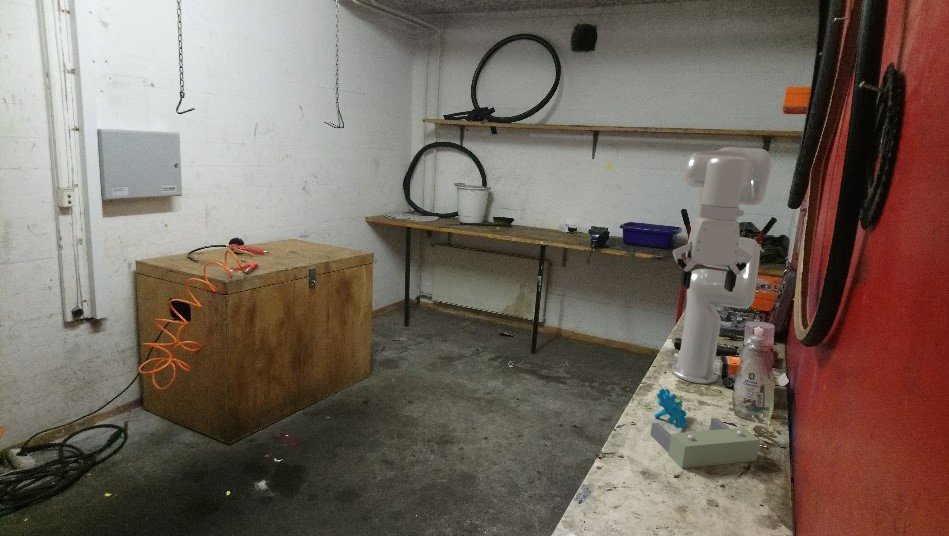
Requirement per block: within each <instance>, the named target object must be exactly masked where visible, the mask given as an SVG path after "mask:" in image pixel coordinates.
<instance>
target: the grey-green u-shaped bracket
mask: <svg viewBox="0 0 949 536" xmlns="http://www.w3.org/2000/svg"><path fill="white" fill-rule="evenodd" d="M709 424H710V425H709V429H708V430H700V431H688V432H676V433H670V432H669V431H668V430H667V429H666V428H665V427H664V426H663V425H661V424H660V423H659V422H652V423H651V429H650V436H651V437H652V438H653V439H654V440H655V441H656V442H657V443H658V444H659V445H660V446H661V447H662V448H663V449H664V450H665V451H666V452H667V455H668V456H669V457H670V458H671V460H673V461H674V462H675V463H676V464H677V465H678V466H679V467H680V468H681V469H686V468H687V469H688V468H696V467H706V466H707V467H708V466H717V465H726V464H735V463H746V462H747V463H748V462H756V461H757V458H758V453H759V447H760V441H761V439H760V438H758V437H757V436H756V435H754V434H753V433H751V431H749V430H748V429H747V428H745V427H737V428H736V427H735V428H731V427H729V426H728V425H726V424H725V422H722V421H721V420H720V419H719V418H717V417H713V418H712V417H711V419H710V423H709Z"/></svg>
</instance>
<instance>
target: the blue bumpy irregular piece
mask: <svg viewBox="0 0 949 536" xmlns="http://www.w3.org/2000/svg"><path fill="white" fill-rule="evenodd" d="M656 396H657V398H658V400H657V404H658V406H659V407H662V408H663V409H661V411H659V412H657V413H655V414H654V418H655V419H659V418H661V417H663V416H666V415H668V416H669V417H668V418H667V421H668V422H669V424H673V423H674V424H673V425H674V427H675V428H676V429H684V428H686V427H687V425H686V424H687V423H688V422H689V421H688V419H687V418H686V416H687V411H686V410H684V409H683V400H682V399H681V398H680V399H678V400H676V399H677V395H676V394H675V393H672V394H671V390H669V389H668V388H666V389H665V388H660V389H658V393H656Z"/></svg>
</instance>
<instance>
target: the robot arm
mask: <svg viewBox="0 0 949 536" xmlns="http://www.w3.org/2000/svg"><path fill="white" fill-rule="evenodd" d="M771 169H772V158H771V155H770V153H769V152H768V151H767V150H766V149H763V148H752V147H738V146H737V147H736V146H735V147H734V146H733V147H732V146H728V147H727V146H726V147H722V148H719V150H710V151H699V152H698V151H697V152H694V153H692V155H690V156H689V158H688V160H687V163H686V166H685V170H684V178H685V181H686V183H687V185H689V186H690V187H693V188H694V187H695V188H697V198H698V205H699V209H700V212H699V216H698V217H695V218H694V221H693V224H692V226H691V230H690V233H689V235H688V240H687V244H683V245H681V246H680V247H677V248H675V249H673V250H672V255H673V258H674V260H675V263H676V264H677V265H678V266H679V268H680V269H681V273H680V284H681V287H683V289H685V290H686V308H685V317H684V322H683V323H684V324H683V328H682V329H683V330H682V335H681V336H682V337H681V343H680V350H679V351H678V352H676V353H674V354H673V357H674V358H675V359H676V360H677V361H676V363H674V364H673V365H672V366H671V372H672V373H673V375H675V376H676V377H678V378H680V379H682V380H684V381H687V382H691V383H695V384H707V385H708V384H712V383H715V382H717V381H718V378H719V375H718V373H717V372H716V371H715V370H714V366H715V361H716V354H717V348H718V343H719V336H720V332H721V331H720V330H721V325H722V318H721V315H720V313H719V312H718V310H717V308H716V307H715V306H723V307H729V308H735V309H748V308H750V307H751V306H752V304H753V303H754V301H755V296H756V290H757V281H758V275H759V274H758V272H759V265H760V257H761V255H760V254H761V251H760V245H759V243H758V242H757V241H756V240H755V239H752V238H749V237H742V236H740V223H739V222H740V221H737V220H738V218H739V217H744V212H745V211H744V210H743V209H740V205H743V206H756V205H759V204H760V203H761V202H763V200H764V198H765V195H766V193H767V192H766V191H767V188H768V187H767V186H768V181H769V178H770V175H771ZM684 253H685V258H686V260H683V257H682V254H684ZM696 265H703V266H705V267H708V268H698V269H694V270H692V268H694V267H695V266H696ZM711 268H715V269H711ZM718 269H722V270H718ZM691 270H692V271H691ZM724 270H728V271H724Z"/></svg>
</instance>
